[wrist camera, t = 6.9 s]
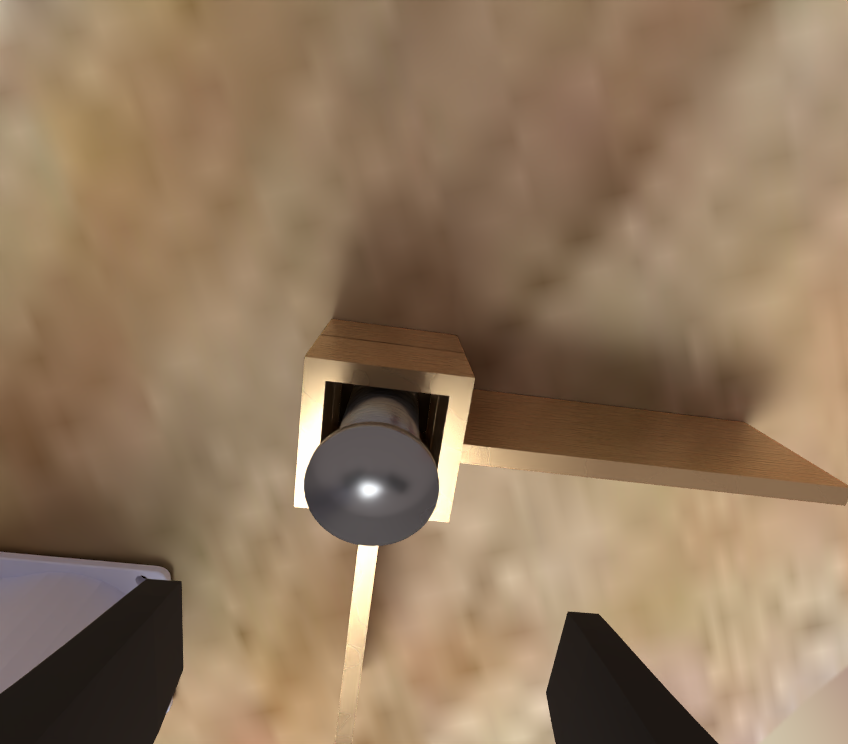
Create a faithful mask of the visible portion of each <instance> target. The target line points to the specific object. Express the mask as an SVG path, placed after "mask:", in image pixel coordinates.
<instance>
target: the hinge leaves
mask: <svg viewBox="0 0 848 744" xmlns="http://www.w3.org/2000/svg"><path fill="white" fill-rule="evenodd" d="M474 381H475V377H474V374H473V372H472V370H471V367H470V365H469V363H468V360H467V358H466V356H465V353H464V351H463V349H462V346H461V344H460V341H459V339H458V337H457V335H452V334H444V333H437V332H429V331H421V330H414V329H406V328H398V327H391V326H383V325H375V324H368V323H360V322H352V321H345V320H337V319H331V320H330V322H329V323H328V325H327V326H326V327H325V329H324V330H323V332H322V333H321V335H320V336H319V337H318V339H317V340H316V341H315V343H314V344H313V346H312V347H311V348H310V350H309V351H308V353H307V354H306V355H305V357H304V371H303V385H302V399H301V413H300V428H299V442H298V456H297V470H296V484H295V498H294V507H302V508H309V507H308V505H307V502H306V499H305V494H304V477H305V472H306V469H307V466H308V464H309V461H310V459H311V457H312V455H313V453H314V451H315V450H316V448H317V447H318V445H319V444H320V443H321V442H322V441H323V440H324V439H325V438H326V437H328V436H329V435H330V434H332V433H333V432H335V431H336V430H338V429H340V426H341V423H342V422H339V412H340V402H341V391H342V383H347V384H356V385H364V386H372V387H381V388H389V389H397V390H405V391H414V392H422V393H430V394H431V399H430V406H429V412H428V419H427V425H426V432H423V431H419V438H420V440H421V441H422V443H423V444H424V445H425V446H426V447H427V448H428V450H429V451H430V453H431V455H432V456H433V458H434V461H435V463H436V466H437V471H438V477H439V497H438V501H437V505H436V507H435V509H434V512H433V513H432V515H431V517H430V518H429V520H430V521H440V522H449V519H450V513H451V508H452V502H453V496H454V491H455V485H456V480H457V474H458V469H459V463H464V464H473V465H482V466H491V467H500V468H509V469H518V470H527V471H536V472H545V473H555V474H564V475H573V476H582V477H591V478H600V479H609V480H618V481H627V482H636V483H645V484H654V485H663V486H672V487H681V488H690V489H699V490H709V491H718V492H727V493H736V494H745V495H754V496H763V497H772V498H781V499H790V500H799V501H808V502H817V503H826V504H835V505H844V506H845V505H846V503H847V501H848V485H847V484H845V483H843V482H842V481H840V480H838V479H837V478H835V477H833V476H832V475H830V474H829V473H827V472H825V471H824V470H822V469H820V468H819V467H817V466H816V465H814V464H812V463H811V462H809V461H807V460H806V459H804V458H802V457H801V456H799V455H798V454H796V453H794V452H793V451H791V450H789V449H788V448H786V447H784V446H783V445H781V444H780V443H778V442H776V441H775V440H773V439H771V438H770V437H768V436H766V435H765V434H763V433H762V432H760V431H758V430H757V429H755V428H753V427H752V426H750V425H748V424H747V423H745V422H740V421H731V420H723V419H715V418H707V417H699V416H691V415H682V414H674V413H666V412H658V411H650V410H641V409H633V408H625V407H617V406H609V405H601V404H592V403H584V402H576V401H568V400H560V399H551V398H543V397H535V396H527V395H519V394H511V393H502V392H494V391H486V390H478V389H473V386H474ZM377 552H378V546H363V545H358V553H357V561H356V569H355V578H354V586H353V595H352V603H351V611H350V620H349V628H348V637H347V645H346V653H345V662H344V670H343V678H342V687H341V695H340V704H339V712H338V720H337V729H336V737H335V744H352V739H353V732H354V724H355V717H356V709H357V702H358V694H359V687H360V679H361V672H362V664H363V657H364V649H365V642H366V634H367V627H368V619H369V612H370V604H371V597H372V589H373V582H374V574H375V567H376V560H377Z"/></svg>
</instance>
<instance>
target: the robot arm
mask: <svg viewBox="0 0 848 744" xmlns="http://www.w3.org/2000/svg"><path fill="white" fill-rule="evenodd" d="M141 575H142V576H145V577H146V578H148V579H144V578H143V577H142V576H141ZM182 671H183V629H182V581H171V576H170V573H169V572H168V570H167V569H165V568H164V567H160V566H152V565H141V564H130V563H119V562H108V561H97V560H86V559H75V558H64V557H52V556H41V555H30V554H19V553H8V552H0V744H153V743H154V740H155V738H156V736H157V734H158V732H159V730H160V727H161V725H162V722H163V720H164V717H165V715H166V713H167V712H168V711H169V710H170V708H171V705H172V702H173V695H174V692H175V689H176V687H177V684H178V681H179V679H180V676H181V674H182ZM546 695H547V700H548V706H549V711H550V717H551V722H552V727H553V732H554V737H555V742H556V744H718V743H717V742H716V741H715V740H714V739H713V738H712V737H711V736H710V735H709V734H708V732H707V731H706V730H705V729H704V728H703V727H702V726H701V725H700V724H699V723H698V722H697V721H696V720H695V719H694V718H693V717H692V716H691V715H690V714H689V713H688V711H687V710H686V709H685V708H684V707H683V706H682V705H681V704H680V703H679V702H678V701H677V700H676V699H675V697H674V696H673V695H672V694H671V693H670V692H669V691H668V690H667V689H666V688H665V687H664V685H663V684H662V683H661V682H660V681H659V680H658V679H657V678H656V677H655V676H654V674H653V673H652V672H651V671H650V670H649V669H648V668H647V667H646V666H645V664H644V663H643V662H642V661H641V660H640V659H639V658H638V657H637V656H636V654H635V653H634V652H633V651H632V650H631V649H630V648H629V647H628V646H627V644H626V643H625V642H624V641H623V640H622V639H621V638H620V637H619V635H618V634H617V633H616V632H615V631H614V630H613V629H612V628H611V627H610V626H609V624H608V623H607V622H606V621H605V620H604V619H603V618H602V617H601V616H600V615H599V614H593V613H580V612H568V613H567V617H566V620H565V624H564V628H563V631H562V635H561V639H560V643H559V646H558V650H557V654H556V657H555V661H554V665H553V669H552V672H551V676H550V680H549V683H548V687H547V691H546Z"/></svg>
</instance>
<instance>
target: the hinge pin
mask: <svg viewBox="0 0 848 744" xmlns="http://www.w3.org/2000/svg"><path fill="white" fill-rule="evenodd" d="M304 494H305V499H306V502H307V505H308V507H309V510H310V512H311V513H312V515H313V516H314V518H315V519H316V520H317V522H318V523H319V524H320V525H321V526H322V527H323V528H324V529H325V530H327V531H328V532H329V533H331V534H332V535H334V536H336V537H337V538H339V539H342V540H344V541H346V542H349V543H353V544H357V545H363V546H383V545H388V544H392V543H396V542H399V541H401V540H404V539H406V538H408V537H409V536H411V535H413V534H414V533H416V532H417V531H418V530H419V529H420V528H422V527H423V526H424V525H425V523H426V522H427V521H428V520H429V518H430V517H431V515H432V513H433V512H434V509H435V507H436V505H437V501H438V497H439V477H438V471H437V466H436V463H435V461H434V458H433V456H432V455H431V453H430V451H429V450H428V448H427V447H426V446H425V445H424V444H423V443H422V441H421V440H420V438H419V411H418V392H414V391H405V390H397V389H389V388H381V387H372V386H364V385H356V384H354V387H353V390H352V393H351V396H350V399H349V402H348V405H347V408H346V411H345V414H344V417H343V420H342V423H341V426H340V429H338V430H336V431H335V432H333V433H332V434H330V435H329V436H328V437H326V438H325V439H324V440H323V441H322V442H321V443H320V444H319V445H318V447H317V448H316V450H315V451H314V453H313V455H312V457H311V459H310V461H309V464H308V466H307V469H306V472H305V477H304Z"/></svg>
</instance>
